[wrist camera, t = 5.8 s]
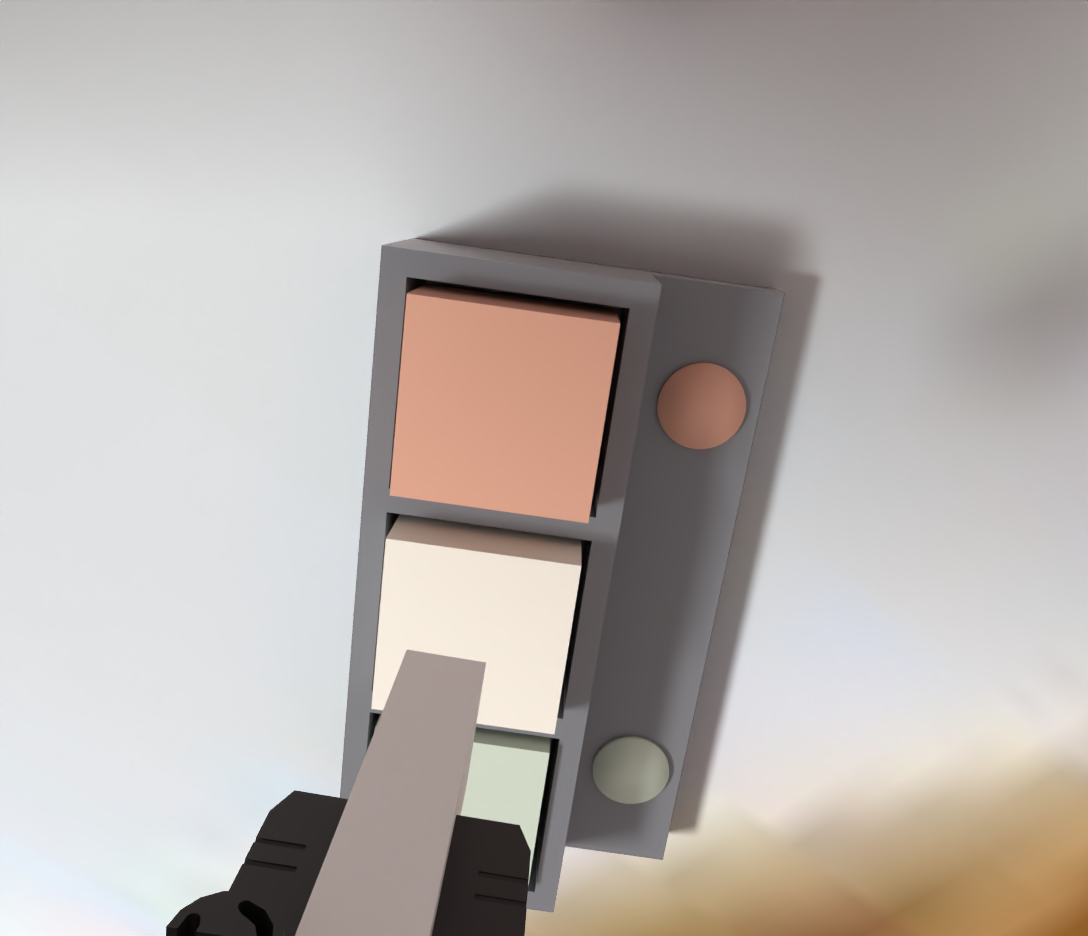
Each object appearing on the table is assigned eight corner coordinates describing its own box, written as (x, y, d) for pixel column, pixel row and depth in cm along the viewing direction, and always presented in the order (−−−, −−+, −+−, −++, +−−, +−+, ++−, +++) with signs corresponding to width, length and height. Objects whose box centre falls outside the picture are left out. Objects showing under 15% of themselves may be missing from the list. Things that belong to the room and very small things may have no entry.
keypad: (365, 792, 37) (333, 881, 32) (413, 238, 30) (381, 245, 25) (659, 834, 37) (671, 928, 32) (774, 289, 30) (811, 305, 25)
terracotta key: (408, 465, 29) (389, 495, 26) (425, 283, 27) (407, 293, 24) (587, 491, 29) (588, 523, 26) (616, 310, 27) (620, 323, 24)
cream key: (390, 661, 31) (371, 708, 28) (404, 505, 29) (385, 538, 26) (556, 685, 31) (554, 734, 28) (581, 530, 29) (581, 566, 26)
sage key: (380, 814, 34) (362, 870, 31) (393, 681, 32) (374, 728, 29) (531, 835, 34) (527, 893, 31) (552, 704, 32) (549, 753, 29)
